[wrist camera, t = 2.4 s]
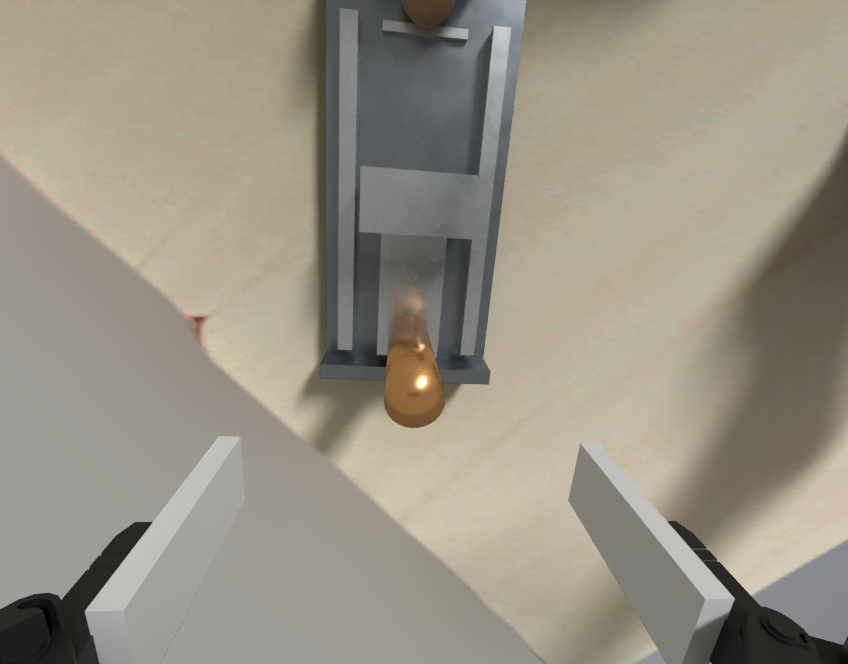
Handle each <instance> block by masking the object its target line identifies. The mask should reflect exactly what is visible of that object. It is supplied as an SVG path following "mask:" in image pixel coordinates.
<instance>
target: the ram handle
mask: <svg viewBox="0 0 848 664" xmlns="http://www.w3.org/2000/svg"><path fill="white" fill-rule="evenodd" d="M479 185H480V176H478V175H466V174H454V173H442V172H430V171H417V170H405V169H393V168H381V167H368V166H361V170H360V217H359V232H369V233H381V256H380V283H379V310H378V336H377V355H387V367H386V382H385V397H384V404H385V409H386V411H387V413H388V415H389V416H390V418H391V419H392V420H393V421H395V422H396V423H398V424H399V425H402V426H404V427H409V428H418V427H423V426H426V425H428V424H430V423H432V422H433V421H435V420H436V419H437V418H438V417H439V415H440V414H441V412H442V410H443V408H444V404H445V395H444V391H443V387H442V383H441V379H440V376H439V372H438V368H437V364H436V360H435V357H437V350H438V338H439V326H440V314H441V303H442V291H443V279H444V267H445V256H446V244H447V238H458V239H472V240H474V233H475V223H476V214H477V204H478V195H479Z"/></svg>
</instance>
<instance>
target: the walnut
mask: <svg viewBox="0 0 848 664" xmlns="http://www.w3.org/2000/svg"><path fill="white" fill-rule="evenodd" d="M454 2H455V0H402V3H403V6H404V9H405V11H406V13H407V14H408V16H409V17H410V18H411V19H412V20H413V21H414V22H415V23H416V24H418V25H420V26H424V27H433V26H436V25H438V24H440V23H442V22H443V21H444V20H445V19H446V18H447V17H448V15H449V14H450V12H451V10H452V8H453V6H454Z"/></svg>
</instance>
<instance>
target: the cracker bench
mask: <svg viewBox="0 0 848 664" xmlns="http://www.w3.org/2000/svg"><path fill="white" fill-rule="evenodd" d="M525 8H526V0H455V2H454V6H453V8H452V10H451V12H450V14H449V15H448V17H447V18H446V19H445V20H444V21H443V22H442V23H440V24H438V25H436V26H433V27H424V26H420V25H418V24H416V23H415V22H414V21H413V20H412V19H411V18H410V17H409V16H408V14H407V13H406V11H405V9H404V6H403V3H402V0H325V58H326V353H325V355H324V357H323V359H322V361H321V363H320V378H326V379H353V380H380V381H386V367H387V355H377V336H378V310H379V283H380V256H381V233H369V232H359V217H360V170H361V166H368V167H381V168H393V169H405V170H417V171H430V172H442V173H454V174H466V175H478V176H480V185H479V195H478V204H477V214H476V223H475V233H474V240H472V239H458V238H447V244H446V256H445V267H444V279H443V291H442V303H441V314H440V326H439V338H438V350H437V357H435V360H436V364H437V368H438V372H439V376H440V379H441V383H461V384H488V385H489V378H490V370H489V368H488V366H487V365H486V363H485V361H484V359H483V354H484V346H485V337H486V329H487V321H488V313H489V304H490V296H491V288H492V280H493V271H494V263H495V255H496V247H497V239H498V230H499V222H500V214H501V206H502V197H503V189H504V181H505V173H506V165H507V156H508V148H509V140H510V132H511V123H512V115H513V107H514V99H515V90H516V82H517V74H518V66H519V58H520V49H521V41H522V33H523V25H524V16H525Z"/></svg>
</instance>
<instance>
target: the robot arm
mask: <svg viewBox="0 0 848 664" xmlns="http://www.w3.org/2000/svg"><path fill="white" fill-rule="evenodd" d="M244 500H245V491H244V477H243V464H242V450H241V438H240V437H223V436H221V437H218V438H217V440H216V441H215V442H214V443H213V445H212V446H211V447H210V449H209V450H208V451H207V453H206V454H205V455H204V456H203V458H202V459H201V460H200V462H199V463H198V464H197V466H196V467H195V468H194V470H193V471H192V472H191V474H190V475H189V476H188V477H187V479H186V480H185V481H184V483H183V484H182V485H181V487H180V488H179V490H178V491H177V492H176V493H175V494H174V496H173V497H172V498H171V500H170V501H169V502H168V503H167V505H166V506H165V507H164V509H163V510H162V511H161V513H160V514H159V515H158V517H157V518H156V519H155V520H154V522H135V523H133V524H132V525H130V526H129V527H128V528H126V529H125V530H124V531H122V532H121V533H119V534H118V535H117V536H115V538H114V539H113V540H112V541H111V542H110V543H109V545H108V546H107V547H106V548H105V549H104V550H103V552H102V554H101V556H98V558H97V559H96V560H95V561H94V562H93V563H92V565H91V566H90V569H89V570H87V571H86V572H85V573H84V574H83V575H82V577H81V578H80V579H79V580H78V581H77V582H76V583H75V585H74V586H73V587H72V588H71V589H70V591H69V592H68V593H67V594H66V595H65V596H64V598H63V599H62V600H61V599H60V598H59V596H58V595H54V594H51V593H42V594H34V595H31V596H28V597H25V598H22V599H19V600H17V601H15V602H13V603H11V604H9V605H8V606H6V607H4V608H2V609H0V664H161V662H162V660H163V658H164V656H165V654H166V653H167V651H168V648H169V647H170V645H171V642H172V641H173V639H174V637H175V635H176V633H177V631H178V629H179V627H180V625H181V623H182V621H183V619H184V617H185V615H186V613H187V611H188V609H189V607H190V606H191V604H192V602H193V600H194V598H195V596H196V594H197V592H198V590H199V588H200V586H201V584H202V582H203V580H204V578H205V576H206V574H207V572H208V570H209V568H210V566H211V564H212V563H213V561H214V559H215V557H216V555H217V553H218V551H219V549H220V547H221V545H222V543H223V541H224V539H225V537H226V535H227V533H228V531H229V529H230V527H231V525H232V523H233V521H234V519H235V517H236V516H237V514H238V512H239V509H240V508H241V506H242V504H243V502H244ZM568 501H569V502H570V504H571V506H572V507H573V509H574V511H575V512H576V514H577V516H578V517H579V519H580V521H581V522H582V524H583V526H584V527H585V529H586V531H587V532H588V534H589V536H590V537H591V539H592V541H593V542H594V544H595V546H596V547H597V549H598V551H599V552H600V554H601V556H602V557H603V559H604V561H605V562H606V564H607V565H608V567H609V569H610V570H611V572H612V574H613V575H614V577H615V579H616V580H617V582H618V584H619V585H620V587H621V589H622V590H623V592H624V594H625V595H626V597H627V599H628V600H629V602H630V604H631V605H632V607H633V609H634V610H635V612H636V614H637V615H638V617H639V619H640V620H641V622H642V624H643V625H644V627H645V629H646V630H647V632H648V634H649V635H650V637H651V638H652V640H653V642H654V643H655V645H656V647H657V648H658V650H659V652H660V653H661V655H662V657H663V658H664V660H665V662H666V663H667V664H709V663H710V662H711V663H712V664H848V637H847V639H846V641H845V643H844V644H843V645H840V644H837V643H834V642H830V641H826V640H823V639H819V638H815V637H812V636H809V635H808V634H807V633H806V632H805V630H804V629H803V628H801V627H800V626H799V625H798V624H796V623H795V622H794V621H793V620H791V619H790V618H788V617H787V616H785V615H783V614H781V613H779V612H778V611H775V610H773V609H770V608H767V607H761V606H760V605H759V604H758V603H757V602H756V601H755V600H754V599H753V598H752V597H751V596H750V594H749V593H748V592H747V591H746V590H745V589H744V588H743V587H742V586H741V585H740V584H739V583H738V581H737V580H736V579H735V578H734V577H733V576H732V575H731V574H730V573H729V572H728V571H727V570H726V569H725V567H724V566H723V565H722V564H721V563H720V562H717V559H716V558H715V557H714V556H713V554H712V553H711V552H710V551H709V550H706V547H705V546H704V545H703V544H702V543H701V542H700V540H699V539H698V538H697V537H696V536H695V535H694V534H693V533H692V532H690V531H689V530H687V529H686V528H685V527H683V526H682V525H680V524H679V523H678V522H676V521H666V520H665V519H664V518H663V516H662V515H661V514H660V513H659V512H658V511H657V510H656V508H655V507H654V506H653V505H652V504H651V503H650V502H649V500H648V499H647V498H646V497H645V496H644V495H643V494H642V492H641V491H640V490H639V489H638V488H637V487H636V486H635V485H634V483H633V482H632V481H631V480H630V479H629V478H628V477H627V475H626V474H625V473H624V472H623V471H622V470H621V469H620V467H619V466H618V465H617V464H616V463H615V462H614V461H613V459H612V458H611V457H610V456H609V455H608V454H607V453H606V451H605V450H604V449H603V448H602V447H601V446H600V445H599V444H584V443H580V448H579V453H578V457H577V462H576V467H575V472H574V476H573V481H572V486H571V490H570V495H569V500H568Z"/></svg>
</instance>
